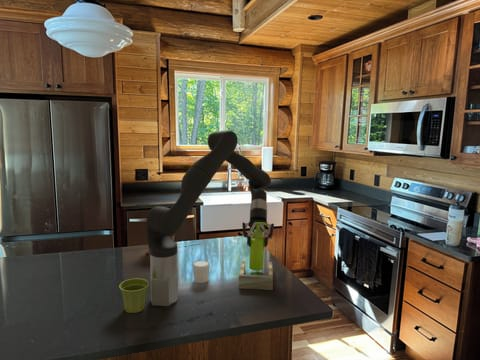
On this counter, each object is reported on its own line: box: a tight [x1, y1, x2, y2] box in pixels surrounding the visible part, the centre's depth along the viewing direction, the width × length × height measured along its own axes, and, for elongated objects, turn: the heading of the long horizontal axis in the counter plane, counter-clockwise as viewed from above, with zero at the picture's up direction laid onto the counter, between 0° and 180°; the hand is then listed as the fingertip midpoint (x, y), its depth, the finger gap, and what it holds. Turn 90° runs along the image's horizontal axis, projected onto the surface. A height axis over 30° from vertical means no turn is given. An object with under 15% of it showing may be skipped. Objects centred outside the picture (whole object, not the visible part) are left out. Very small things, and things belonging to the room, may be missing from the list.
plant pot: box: [118, 277, 150, 314], centre depth 111 cm, size 9×9×9 cm
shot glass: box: [192, 260, 211, 284], centre depth 134 cm, size 7×7×7 cm
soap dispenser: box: [248, 222, 269, 272], centre depth 141 cm, size 6×7×20 cm
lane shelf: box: [238, 260, 274, 291], centre depth 136 cm, size 18×13×5 cm
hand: (257, 246), depth 139 cm, fingers closed on soap dispenser, 6 cm apart
